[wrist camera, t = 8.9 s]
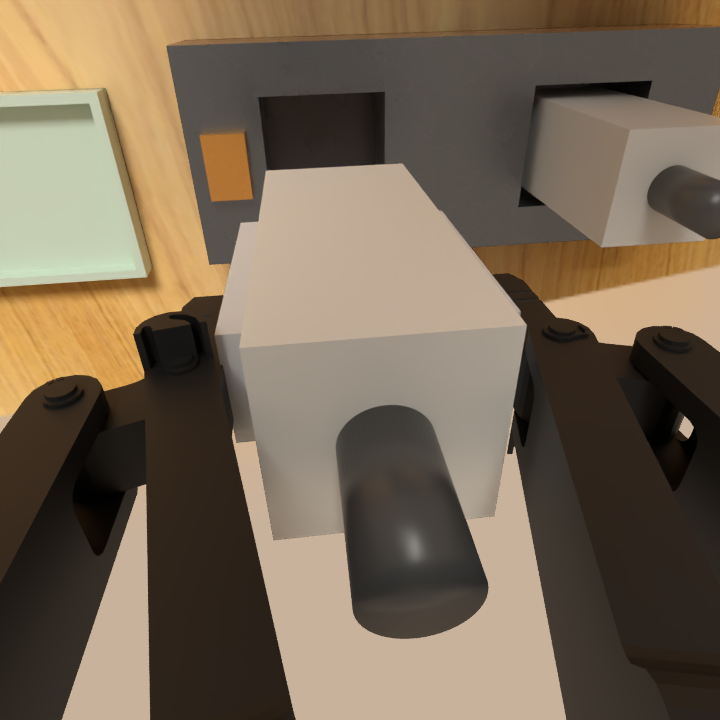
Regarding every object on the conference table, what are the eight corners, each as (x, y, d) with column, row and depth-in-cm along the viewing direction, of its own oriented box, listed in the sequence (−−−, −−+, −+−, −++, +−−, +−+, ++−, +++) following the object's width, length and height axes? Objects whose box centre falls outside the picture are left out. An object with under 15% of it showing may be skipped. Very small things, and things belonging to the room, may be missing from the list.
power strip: (185, 40, 27) (163, 46, 22) (674, 23, 29) (748, 26, 24) (220, 231, 32) (208, 269, 27) (626, 206, 34) (679, 237, 29)
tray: (-163, 98, 26) (-186, 103, 25) (105, 88, 27) (96, 91, 26) (-68, 281, 32) (-82, 292, 31) (152, 267, 33) (147, 277, 32)
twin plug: (520, 90, 28) (680, 147, 17) (600, 87, 28) (813, 140, 17) (509, 176, 31) (641, 278, 19) (583, 172, 31) (757, 270, 19)
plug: (265, 170, 17) (216, 499, 5) (402, 163, 17) (629, 457, 6) (280, 295, 20) (268, 705, 8) (400, 286, 20) (555, 666, 8)
